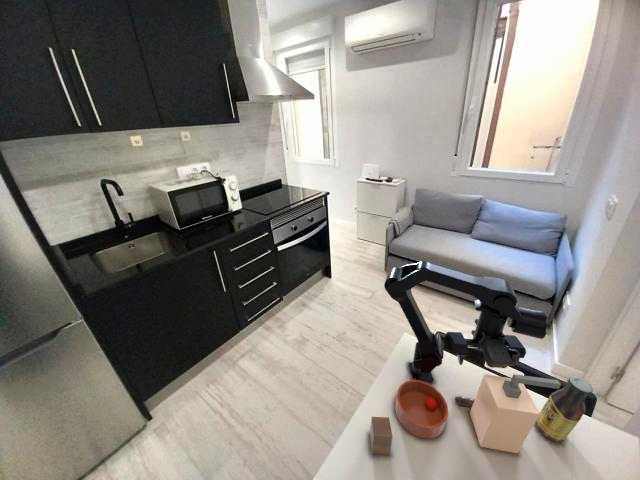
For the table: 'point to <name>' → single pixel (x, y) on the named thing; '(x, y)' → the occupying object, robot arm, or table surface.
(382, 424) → the wooden stand
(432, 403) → the tomato
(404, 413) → the bowl
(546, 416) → the sauce bottle
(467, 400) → the brown bumpy bar
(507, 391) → the soap dispenser
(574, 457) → the table surface
